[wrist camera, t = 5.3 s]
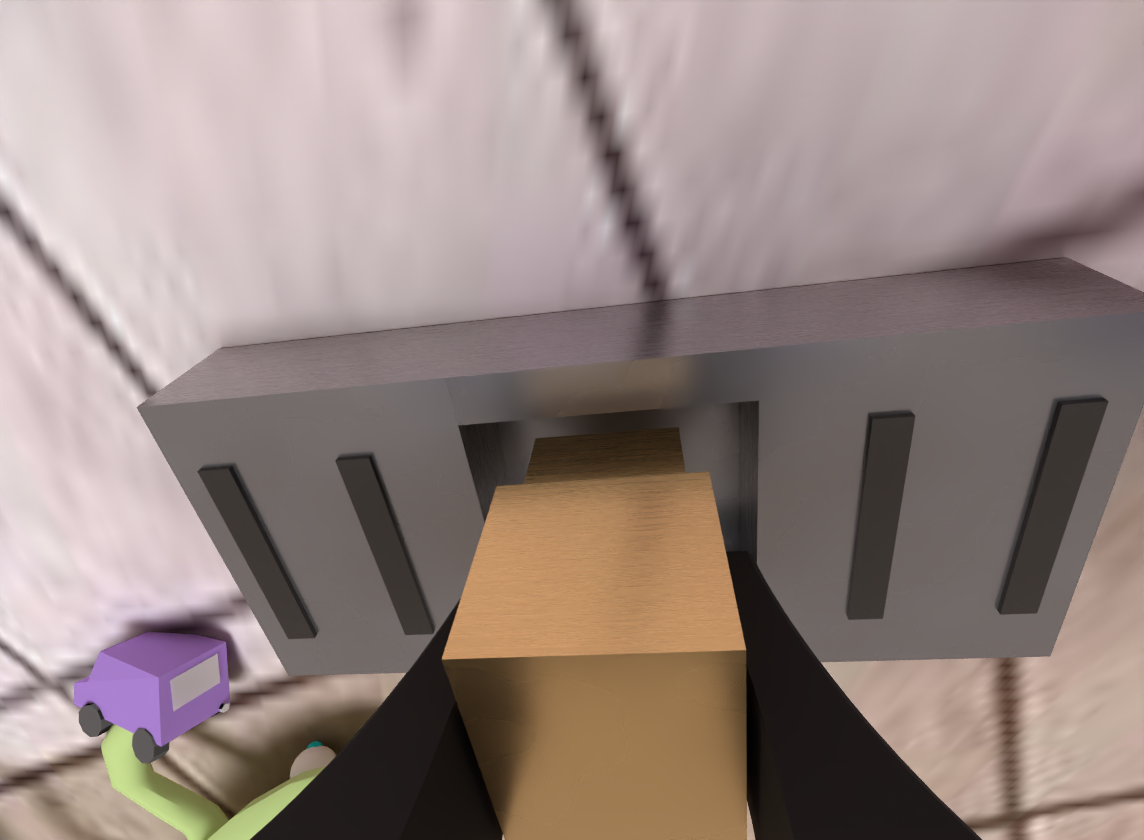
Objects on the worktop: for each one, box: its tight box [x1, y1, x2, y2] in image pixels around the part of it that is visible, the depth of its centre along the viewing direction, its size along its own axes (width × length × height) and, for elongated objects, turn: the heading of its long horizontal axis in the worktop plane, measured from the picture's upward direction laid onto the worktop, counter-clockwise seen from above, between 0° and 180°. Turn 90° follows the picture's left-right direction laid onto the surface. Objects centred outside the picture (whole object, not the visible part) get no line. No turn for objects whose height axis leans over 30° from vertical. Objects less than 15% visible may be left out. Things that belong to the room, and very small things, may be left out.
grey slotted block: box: [137, 258, 1144, 676], centre depth 14 cm, size 18×8×3 cm, turn 98°
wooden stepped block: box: [442, 427, 747, 840], centre depth 10 cm, size 4×4×6 cm
